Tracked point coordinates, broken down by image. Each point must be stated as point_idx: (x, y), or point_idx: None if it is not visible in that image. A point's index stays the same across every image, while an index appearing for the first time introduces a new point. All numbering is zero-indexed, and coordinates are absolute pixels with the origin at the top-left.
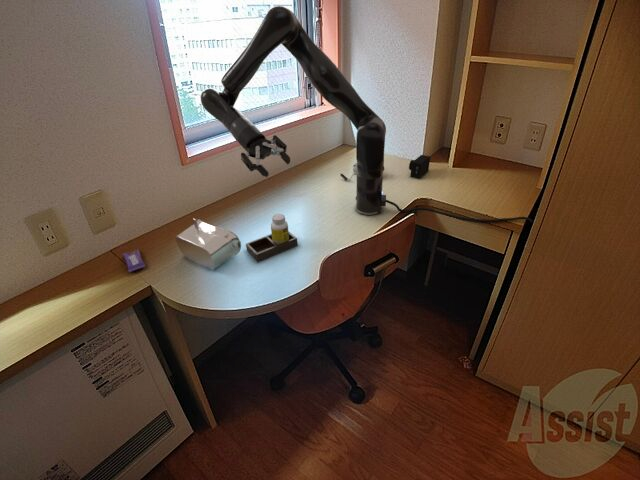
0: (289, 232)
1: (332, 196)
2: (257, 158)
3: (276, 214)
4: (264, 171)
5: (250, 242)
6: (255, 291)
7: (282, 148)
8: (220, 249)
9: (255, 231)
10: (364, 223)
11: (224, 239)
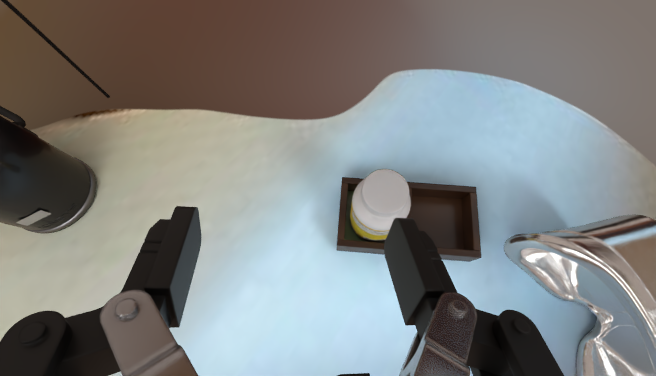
0: (340, 216)
1: None
2: (447, 355)
3: (382, 209)
4: (418, 239)
5: (465, 252)
6: (511, 115)
7: (85, 344)
8: (595, 222)
9: (397, 348)
10: (137, 149)
11: (589, 230)
